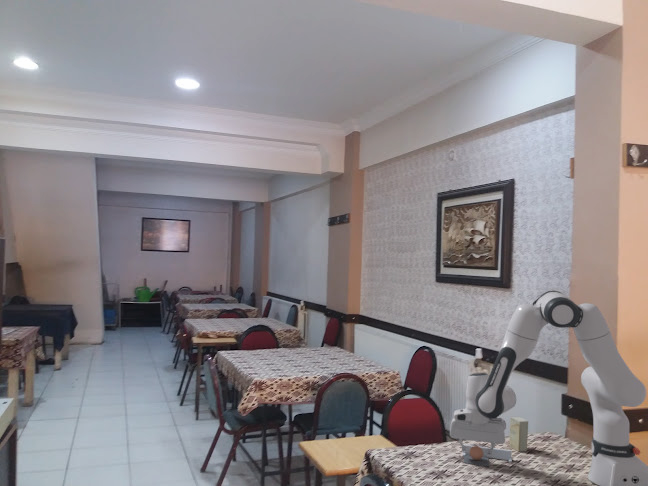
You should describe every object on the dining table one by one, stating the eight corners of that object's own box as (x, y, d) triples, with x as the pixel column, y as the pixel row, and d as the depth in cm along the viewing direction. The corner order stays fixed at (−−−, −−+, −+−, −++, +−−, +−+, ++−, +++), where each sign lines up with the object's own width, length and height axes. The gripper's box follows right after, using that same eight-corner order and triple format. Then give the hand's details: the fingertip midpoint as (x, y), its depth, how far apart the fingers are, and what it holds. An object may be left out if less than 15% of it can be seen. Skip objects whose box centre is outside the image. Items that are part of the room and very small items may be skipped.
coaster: (488, 458, 199) (488, 457, 199) (489, 466, 191) (489, 465, 191) (464, 454, 202) (464, 454, 202) (464, 463, 193) (464, 462, 193)
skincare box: (508, 446, 213) (509, 416, 214) (517, 445, 215) (518, 416, 215) (518, 452, 207) (519, 421, 208) (528, 451, 209) (528, 420, 209)
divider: (510, 457, 200) (510, 448, 201) (511, 462, 196) (511, 453, 196) (462, 451, 205) (462, 442, 205) (462, 456, 200) (462, 446, 200)
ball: (483, 458, 198) (483, 445, 198) (483, 462, 193) (483, 449, 193) (469, 456, 199) (469, 443, 199) (469, 461, 194) (469, 447, 195)
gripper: (505, 416, 197) (504, 453, 197) (450, 410, 203) (449, 446, 202) (506, 420, 191) (506, 458, 190) (450, 414, 196) (449, 451, 196)
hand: (476, 452), depth 196 cm, fingers open, 8 cm apart
